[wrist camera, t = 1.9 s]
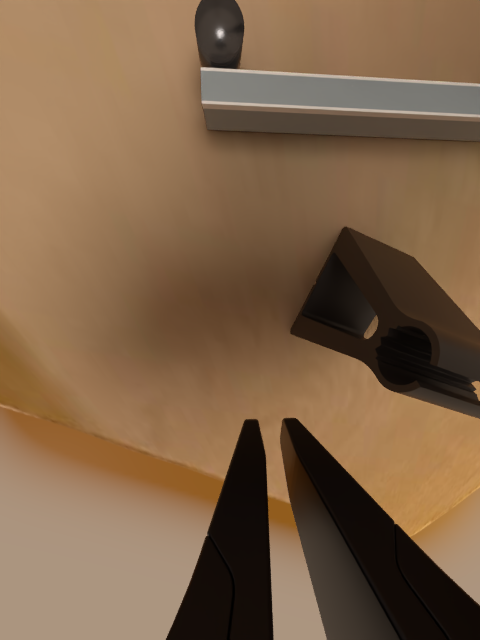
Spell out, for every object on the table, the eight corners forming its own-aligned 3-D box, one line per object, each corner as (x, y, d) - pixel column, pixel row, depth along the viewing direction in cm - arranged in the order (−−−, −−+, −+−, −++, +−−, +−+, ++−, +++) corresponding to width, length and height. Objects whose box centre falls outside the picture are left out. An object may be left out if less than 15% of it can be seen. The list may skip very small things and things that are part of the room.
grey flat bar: (496, 120, 16) (592, 90, 12) (488, 143, 16) (577, 122, 12) (206, 106, 15) (200, 67, 11) (207, 131, 15) (201, 103, 11)
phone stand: (348, 352, 23) (466, 487, 12) (288, 331, 21) (358, 461, 10) (410, 256, 19) (653, 319, 8) (344, 225, 18) (528, 253, 7)
